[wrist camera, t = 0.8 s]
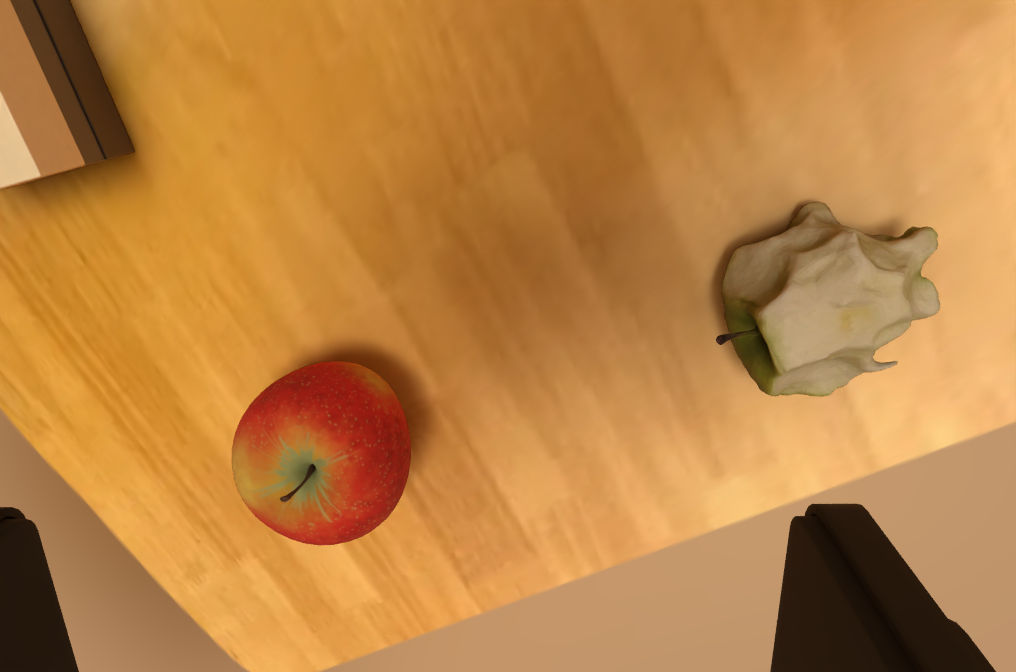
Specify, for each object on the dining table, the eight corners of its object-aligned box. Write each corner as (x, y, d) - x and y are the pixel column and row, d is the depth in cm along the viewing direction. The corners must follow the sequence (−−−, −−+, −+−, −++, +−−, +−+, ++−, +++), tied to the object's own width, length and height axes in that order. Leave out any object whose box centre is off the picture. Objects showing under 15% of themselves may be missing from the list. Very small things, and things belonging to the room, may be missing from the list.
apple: (304, 487, 41) (238, 614, 32) (249, 356, 39) (160, 454, 29) (443, 456, 40) (417, 578, 31) (397, 320, 38) (354, 409, 28)
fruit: (683, 341, 39) (692, 384, 31) (759, 170, 37) (789, 170, 29) (853, 407, 38) (906, 468, 30) (942, 237, 36) (1024, 255, 28)
